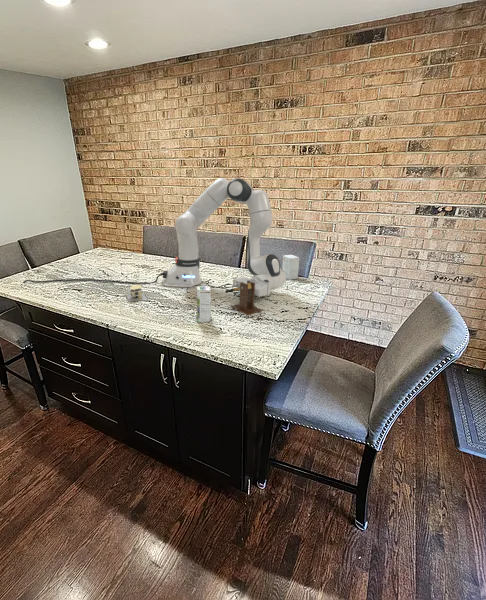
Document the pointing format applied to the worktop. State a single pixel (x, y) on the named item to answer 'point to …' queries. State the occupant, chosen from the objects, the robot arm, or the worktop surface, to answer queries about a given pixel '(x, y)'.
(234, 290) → the lever
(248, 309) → the bracket
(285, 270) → the small box
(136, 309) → the worktop surface
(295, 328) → the worktop surface
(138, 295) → the stacked layers on plate
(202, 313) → the syrup box
